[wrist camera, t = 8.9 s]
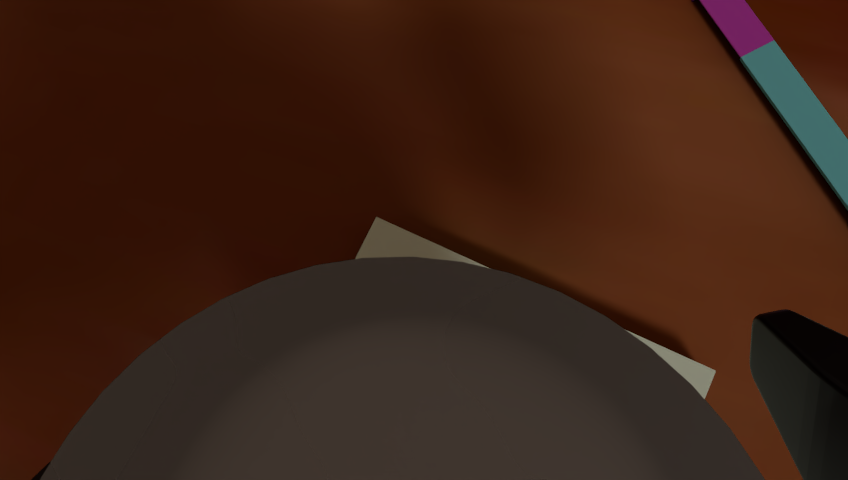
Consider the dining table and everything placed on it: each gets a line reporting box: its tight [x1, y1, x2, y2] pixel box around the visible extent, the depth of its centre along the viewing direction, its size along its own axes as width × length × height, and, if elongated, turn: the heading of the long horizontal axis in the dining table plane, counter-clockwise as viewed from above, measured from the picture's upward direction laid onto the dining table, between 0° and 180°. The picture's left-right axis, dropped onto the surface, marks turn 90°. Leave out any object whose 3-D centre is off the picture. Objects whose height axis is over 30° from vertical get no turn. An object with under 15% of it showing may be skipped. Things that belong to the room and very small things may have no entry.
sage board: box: [355, 217, 716, 399], centre depth 17 cm, size 9×9×1 cm
